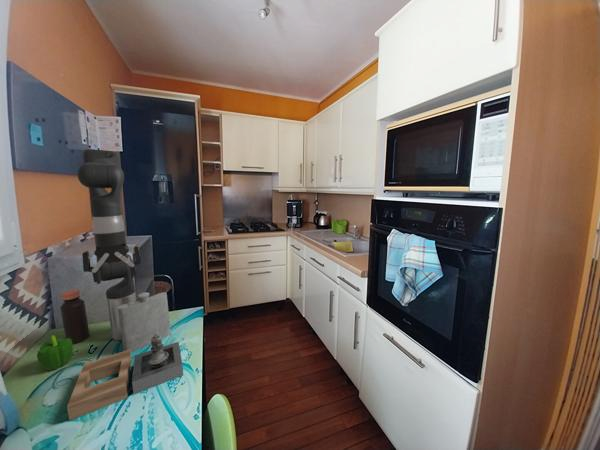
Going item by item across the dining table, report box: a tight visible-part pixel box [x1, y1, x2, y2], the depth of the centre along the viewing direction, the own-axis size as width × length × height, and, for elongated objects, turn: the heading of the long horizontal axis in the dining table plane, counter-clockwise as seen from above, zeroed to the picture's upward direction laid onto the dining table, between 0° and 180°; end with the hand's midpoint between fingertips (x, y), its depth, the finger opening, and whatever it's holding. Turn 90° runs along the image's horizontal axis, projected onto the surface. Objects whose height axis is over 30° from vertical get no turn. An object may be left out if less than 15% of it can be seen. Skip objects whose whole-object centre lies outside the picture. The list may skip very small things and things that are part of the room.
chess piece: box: [147, 334, 169, 371], centre depth 75 cm, size 6×6×12 cm
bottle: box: [60, 289, 90, 345], centre depth 92 cm, size 7×7×20 cm
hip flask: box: [118, 291, 172, 353], centre depth 89 cm, size 16×4×20 cm, turn 140°
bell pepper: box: [36, 334, 74, 371], centre depth 79 cm, size 8×8×10 cm
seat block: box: [131, 341, 184, 395], centre depth 76 cm, size 13×13×4 cm
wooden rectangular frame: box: [66, 350, 133, 421], centre depth 70 cm, size 18×12×4 cm, turn 32°
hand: (116, 280), depth 75 cm, fingers open, 8 cm apart
